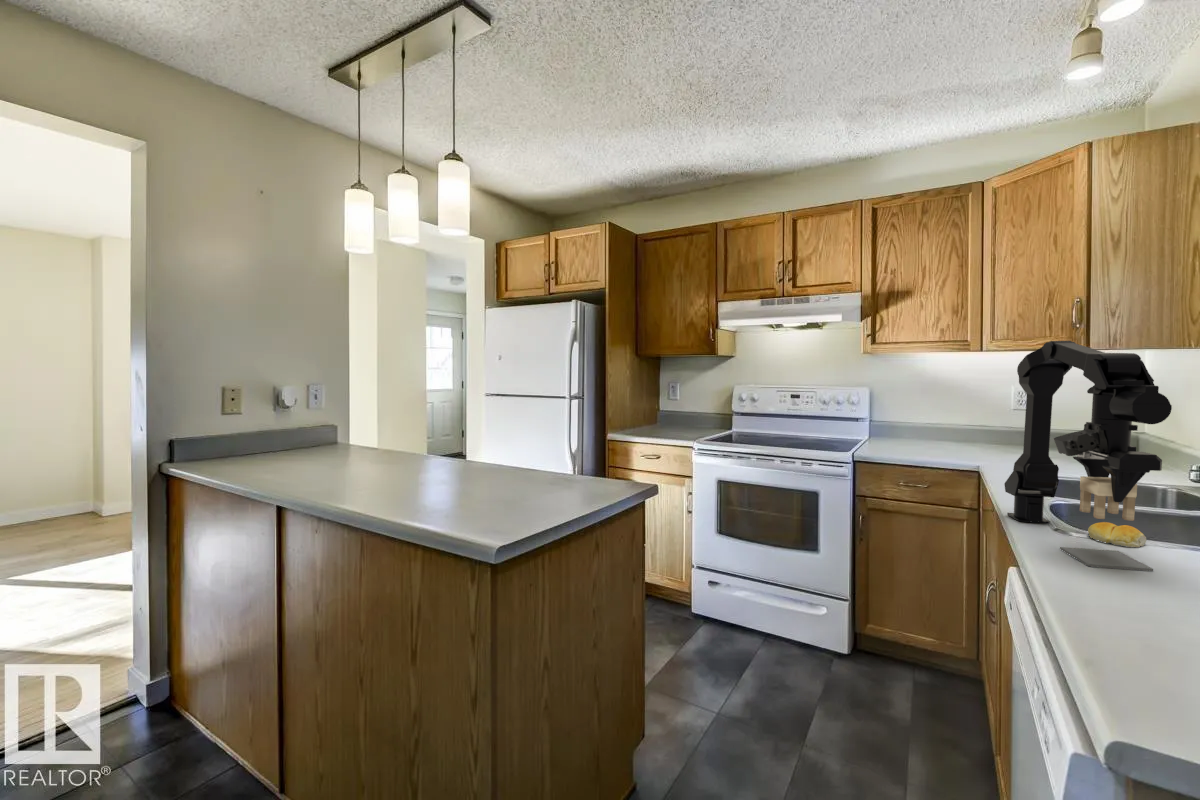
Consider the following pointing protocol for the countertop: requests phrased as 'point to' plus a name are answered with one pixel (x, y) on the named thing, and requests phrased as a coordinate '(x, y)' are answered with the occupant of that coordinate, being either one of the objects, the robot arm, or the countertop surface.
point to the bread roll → (1117, 534)
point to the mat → (1106, 559)
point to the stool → (1104, 498)
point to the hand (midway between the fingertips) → (1106, 497)
